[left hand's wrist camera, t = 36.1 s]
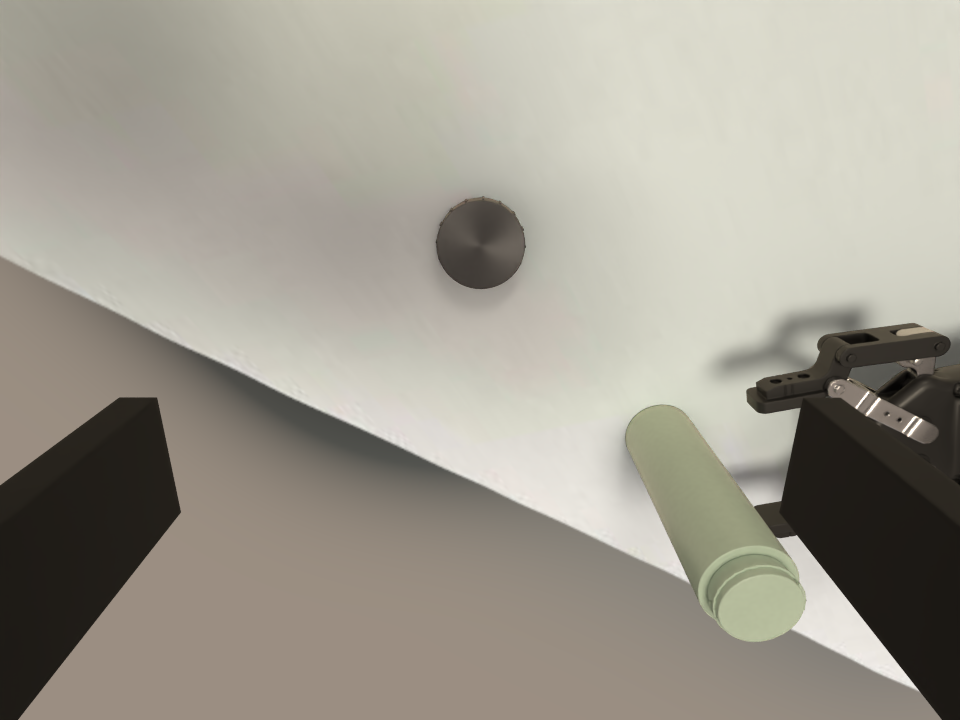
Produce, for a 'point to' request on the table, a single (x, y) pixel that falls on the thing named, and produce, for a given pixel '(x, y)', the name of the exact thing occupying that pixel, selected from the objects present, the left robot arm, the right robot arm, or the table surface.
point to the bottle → (715, 529)
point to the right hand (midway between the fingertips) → (754, 463)
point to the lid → (480, 243)
